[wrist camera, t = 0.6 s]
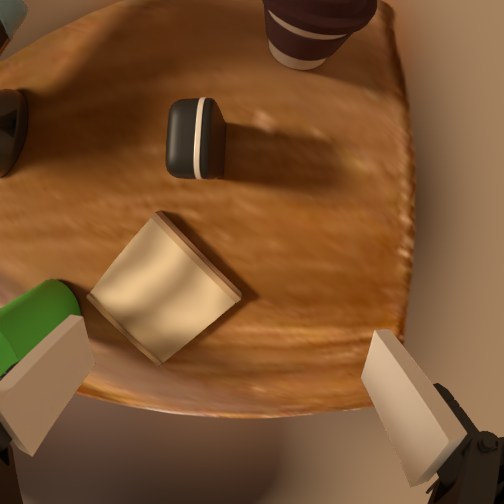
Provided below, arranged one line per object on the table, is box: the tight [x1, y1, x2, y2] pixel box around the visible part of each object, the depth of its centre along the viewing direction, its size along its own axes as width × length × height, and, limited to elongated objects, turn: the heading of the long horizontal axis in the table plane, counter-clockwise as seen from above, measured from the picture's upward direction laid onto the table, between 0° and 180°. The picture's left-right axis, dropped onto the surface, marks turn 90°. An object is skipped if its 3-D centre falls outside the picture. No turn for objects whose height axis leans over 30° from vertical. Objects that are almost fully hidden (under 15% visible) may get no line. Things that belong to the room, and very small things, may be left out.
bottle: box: [0, 279, 81, 376], centre depth 23 cm, size 9×9×25 cm
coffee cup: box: [262, 0, 377, 70], centre depth 19 cm, size 10×10×15 cm
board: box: [86, 210, 242, 367], centre depth 34 cm, size 14×16×2 cm
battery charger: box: [166, 97, 226, 180], centre depth 25 cm, size 7×4×11 cm, turn 177°
